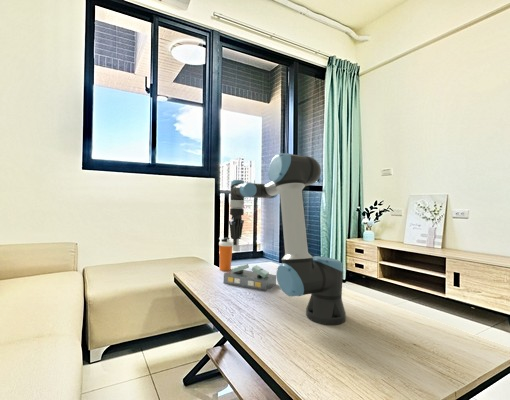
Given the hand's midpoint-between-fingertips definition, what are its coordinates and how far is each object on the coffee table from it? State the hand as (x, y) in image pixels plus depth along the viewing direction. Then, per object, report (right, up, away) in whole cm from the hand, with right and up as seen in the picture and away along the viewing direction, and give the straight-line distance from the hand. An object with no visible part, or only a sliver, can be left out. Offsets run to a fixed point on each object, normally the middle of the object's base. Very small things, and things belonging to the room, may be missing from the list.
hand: (235, 250), depth 153 cm
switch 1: (+3, -9, -1) cm, 10 cm away
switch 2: (+13, -10, -7) cm, 18 cm away
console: (+8, -17, -4) cm, 19 cm away
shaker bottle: (-8, -17, +24) cm, 31 cm away
